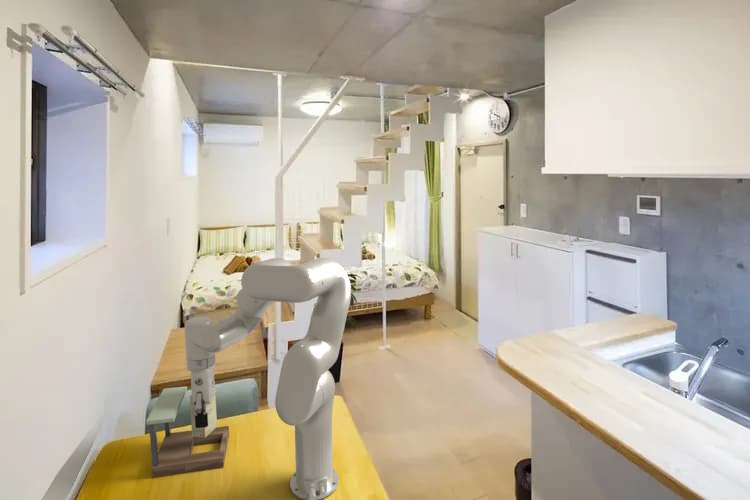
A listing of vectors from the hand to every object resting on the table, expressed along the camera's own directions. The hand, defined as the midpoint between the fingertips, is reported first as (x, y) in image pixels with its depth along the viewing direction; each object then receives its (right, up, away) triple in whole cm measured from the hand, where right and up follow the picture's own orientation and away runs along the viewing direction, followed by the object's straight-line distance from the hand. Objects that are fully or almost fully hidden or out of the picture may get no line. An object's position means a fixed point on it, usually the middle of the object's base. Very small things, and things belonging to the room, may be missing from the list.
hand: (204, 418), depth 120 cm
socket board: (-3, -11, +1) cm, 11 cm away
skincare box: (0, -4, +1) cm, 4 cm away
